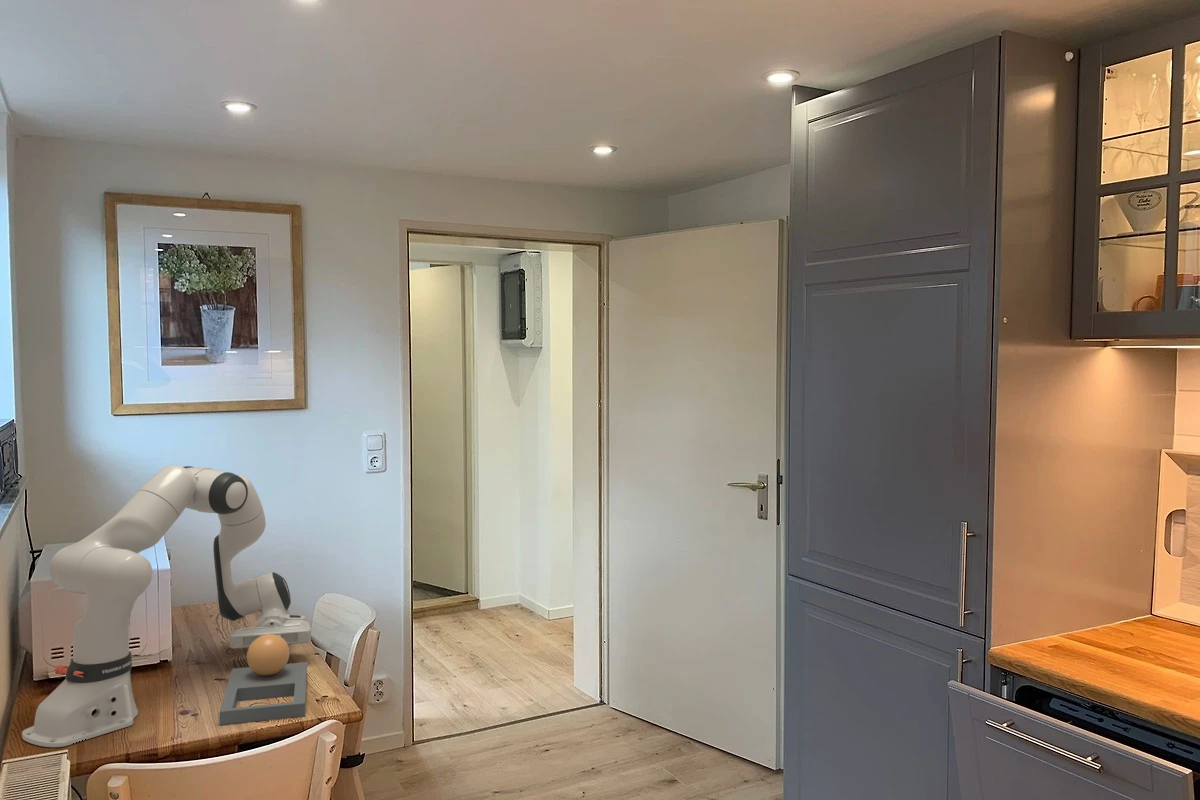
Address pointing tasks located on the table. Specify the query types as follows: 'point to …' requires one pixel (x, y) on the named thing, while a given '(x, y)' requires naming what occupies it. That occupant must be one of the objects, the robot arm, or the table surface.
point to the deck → (264, 694)
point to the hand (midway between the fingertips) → (269, 644)
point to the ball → (268, 654)
